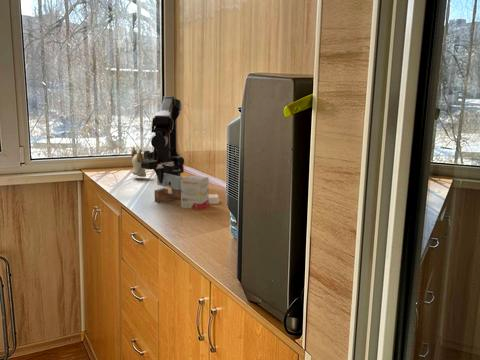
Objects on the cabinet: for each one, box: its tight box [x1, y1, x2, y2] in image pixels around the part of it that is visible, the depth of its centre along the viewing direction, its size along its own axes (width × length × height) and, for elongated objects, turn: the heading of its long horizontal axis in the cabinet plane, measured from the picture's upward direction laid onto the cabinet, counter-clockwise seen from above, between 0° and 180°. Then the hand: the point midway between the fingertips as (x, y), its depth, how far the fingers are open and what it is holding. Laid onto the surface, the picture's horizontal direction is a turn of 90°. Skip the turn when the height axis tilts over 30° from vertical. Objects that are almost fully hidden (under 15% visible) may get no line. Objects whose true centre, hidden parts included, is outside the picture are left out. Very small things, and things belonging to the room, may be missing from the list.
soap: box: [209, 193, 220, 205], centre depth 199 cm, size 9×6×3 cm, turn 99°
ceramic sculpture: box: [130, 146, 148, 178], centre depth 241 cm, size 11×9×15 cm
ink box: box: [180, 175, 210, 210], centre depth 191 cm, size 9×9×12 cm
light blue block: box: [156, 173, 184, 190], centre depth 200 cm, size 2×13×5 cm, turn 49°
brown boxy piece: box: [154, 187, 181, 204], centre depth 201 cm, size 14×2×5 cm, turn 139°
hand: (163, 182), depth 203 cm, fingers closed on light blue block, 2 cm apart
